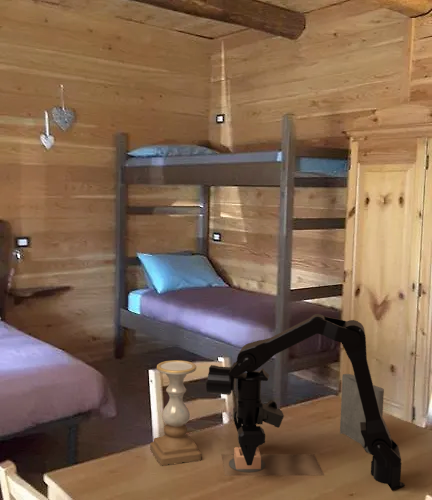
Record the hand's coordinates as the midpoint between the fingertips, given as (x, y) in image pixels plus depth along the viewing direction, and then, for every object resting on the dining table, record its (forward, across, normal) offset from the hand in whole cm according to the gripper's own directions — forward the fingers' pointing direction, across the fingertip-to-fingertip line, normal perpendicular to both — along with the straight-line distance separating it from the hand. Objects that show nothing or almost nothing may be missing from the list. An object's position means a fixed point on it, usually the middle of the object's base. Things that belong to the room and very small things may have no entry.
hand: (247, 457), depth 164 cm
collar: (+2, 0, 0) cm, 2 cm away
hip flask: (+4, +16, -32) cm, 36 cm away
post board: (+3, 0, -6) cm, 7 cm away
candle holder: (+4, +9, +18) cm, 20 cm away
